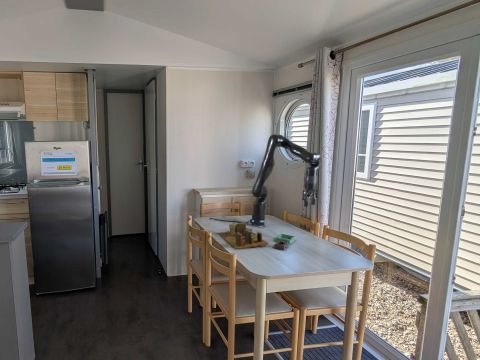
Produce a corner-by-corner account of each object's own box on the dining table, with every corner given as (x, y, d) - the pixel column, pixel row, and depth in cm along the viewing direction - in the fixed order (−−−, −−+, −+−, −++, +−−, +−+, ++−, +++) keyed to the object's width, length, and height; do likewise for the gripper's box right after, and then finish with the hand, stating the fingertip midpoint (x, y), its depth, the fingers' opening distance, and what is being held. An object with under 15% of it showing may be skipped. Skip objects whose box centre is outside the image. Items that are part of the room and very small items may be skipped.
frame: (283, 250, 189) (284, 245, 188) (274, 247, 193) (274, 243, 192) (288, 246, 195) (288, 242, 194) (278, 244, 199) (278, 240, 198)
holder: (289, 244, 198) (289, 240, 198) (275, 241, 204) (275, 237, 204) (295, 240, 207) (295, 236, 206) (281, 237, 213) (281, 233, 212)
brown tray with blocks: (271, 248, 192) (269, 226, 190) (236, 254, 189) (234, 232, 187) (248, 231, 226) (246, 212, 224) (218, 236, 224) (216, 217, 221)
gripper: (311, 180, 208) (310, 203, 210) (299, 182, 201) (298, 205, 203) (322, 182, 202) (320, 205, 204) (310, 183, 194) (308, 208, 197)
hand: (309, 205), depth 203 cm, fingers open, 8 cm apart
